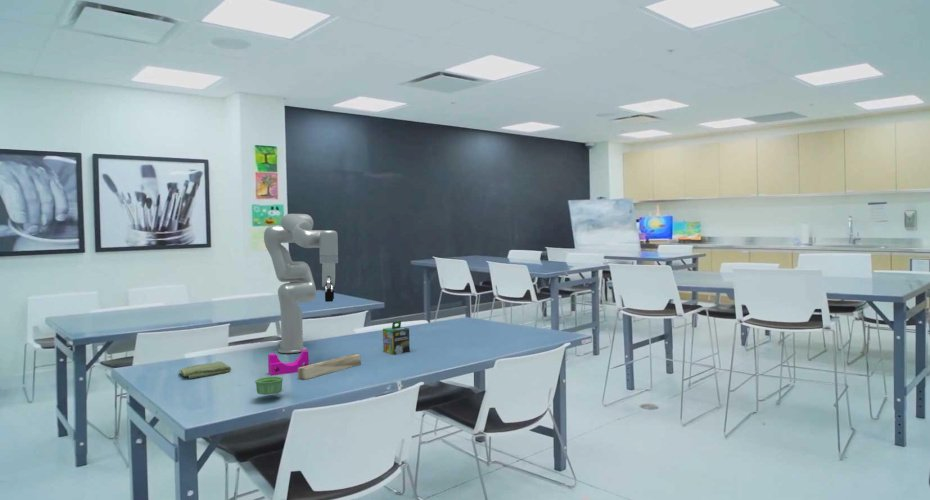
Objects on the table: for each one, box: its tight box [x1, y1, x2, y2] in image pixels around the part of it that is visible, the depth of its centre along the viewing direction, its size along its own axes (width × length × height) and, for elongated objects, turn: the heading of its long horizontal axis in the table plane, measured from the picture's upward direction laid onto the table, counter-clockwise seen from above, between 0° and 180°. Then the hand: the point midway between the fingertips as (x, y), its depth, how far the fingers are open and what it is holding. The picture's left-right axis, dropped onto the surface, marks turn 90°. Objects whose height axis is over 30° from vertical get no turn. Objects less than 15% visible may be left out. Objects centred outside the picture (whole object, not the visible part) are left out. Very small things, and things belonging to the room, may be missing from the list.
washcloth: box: [178, 360, 232, 379], centre depth 229 cm, size 13×18×3 cm
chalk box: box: [382, 320, 411, 356], centre depth 261 cm, size 9×9×15 cm
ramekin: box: [254, 375, 284, 396], centre depth 196 cm, size 9×9×4 cm
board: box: [297, 353, 362, 380], centre depth 226 cm, size 4×30×4 cm, turn 148°
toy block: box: [267, 349, 310, 376], centre depth 227 cm, size 15×6×8 cm, turn 120°
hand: (329, 300), depth 240 cm, fingers open, 9 cm apart
